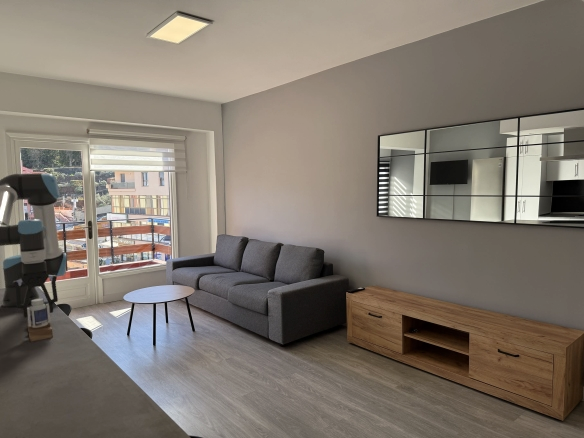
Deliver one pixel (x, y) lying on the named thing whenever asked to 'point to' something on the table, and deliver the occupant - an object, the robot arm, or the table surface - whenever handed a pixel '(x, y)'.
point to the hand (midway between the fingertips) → (39, 323)
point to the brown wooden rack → (40, 332)
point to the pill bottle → (38, 313)
